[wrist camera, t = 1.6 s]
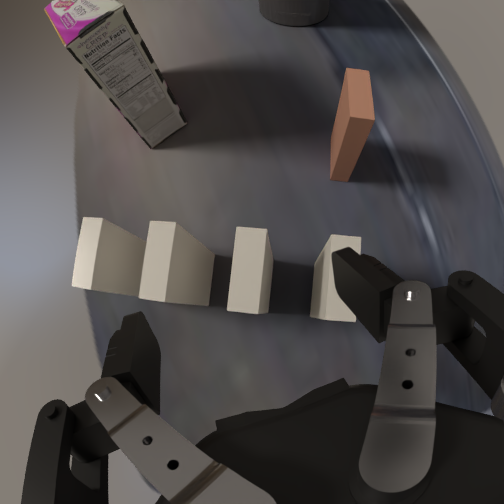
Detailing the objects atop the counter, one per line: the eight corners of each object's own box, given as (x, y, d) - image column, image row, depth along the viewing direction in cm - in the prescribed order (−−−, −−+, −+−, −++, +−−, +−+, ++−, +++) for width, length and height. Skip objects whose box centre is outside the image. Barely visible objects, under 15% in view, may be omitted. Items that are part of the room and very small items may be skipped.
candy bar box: (111, 98, 32) (41, 8, 16) (145, 74, 32) (87, -25, 16) (150, 154, 29) (61, 46, 13) (190, 124, 30) (126, 0, 14)
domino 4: (330, 138, 28) (346, 67, 18) (347, 140, 28) (368, 71, 18) (330, 179, 27) (349, 116, 17) (347, 181, 27) (374, 120, 17)
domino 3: (254, 258, 26) (236, 226, 17) (273, 259, 26) (266, 229, 16) (248, 310, 26) (226, 310, 16) (268, 312, 25) (258, 314, 16)
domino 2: (196, 252, 27) (150, 220, 17) (214, 254, 27) (176, 222, 17) (190, 303, 26) (138, 298, 16) (208, 306, 26) (164, 302, 16)
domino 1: (145, 248, 28) (83, 217, 18) (161, 249, 27) (102, 218, 18) (138, 296, 27) (71, 285, 17) (154, 298, 27) (90, 289, 17)
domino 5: (314, 263, 26) (331, 234, 16) (333, 265, 26) (360, 237, 16) (309, 316, 25) (324, 319, 15) (328, 318, 25) (355, 321, 15)
